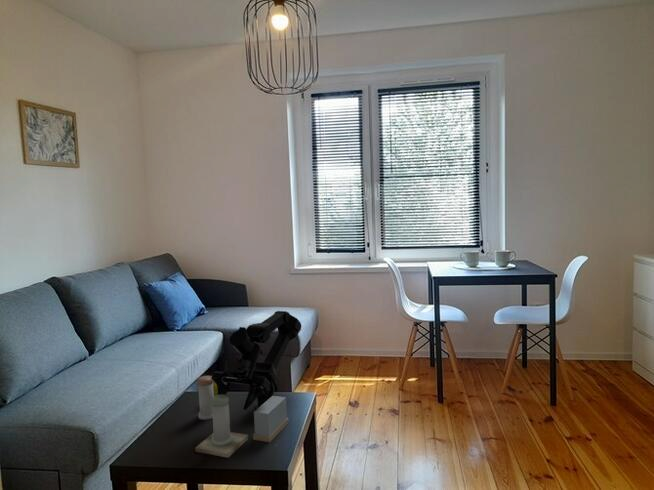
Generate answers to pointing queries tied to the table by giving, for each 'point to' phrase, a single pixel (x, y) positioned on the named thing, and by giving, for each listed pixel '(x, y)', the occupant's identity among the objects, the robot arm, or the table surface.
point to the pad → (222, 450)
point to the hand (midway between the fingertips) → (231, 407)
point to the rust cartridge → (205, 397)
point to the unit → (270, 419)
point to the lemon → (215, 389)
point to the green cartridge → (221, 420)
